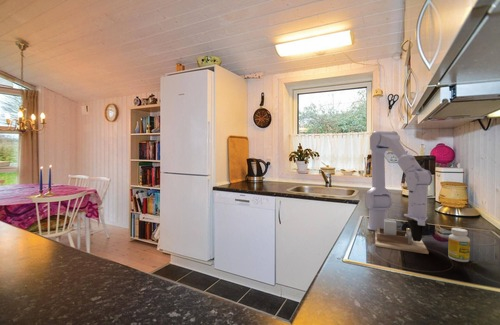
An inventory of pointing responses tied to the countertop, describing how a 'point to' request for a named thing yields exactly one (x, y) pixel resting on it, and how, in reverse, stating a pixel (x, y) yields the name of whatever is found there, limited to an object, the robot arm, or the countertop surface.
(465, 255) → the supplement bottle
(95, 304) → the countertop surface
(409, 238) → the gate
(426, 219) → the robot arm
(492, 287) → the countertop surface
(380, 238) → the cradle board
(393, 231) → the link block
